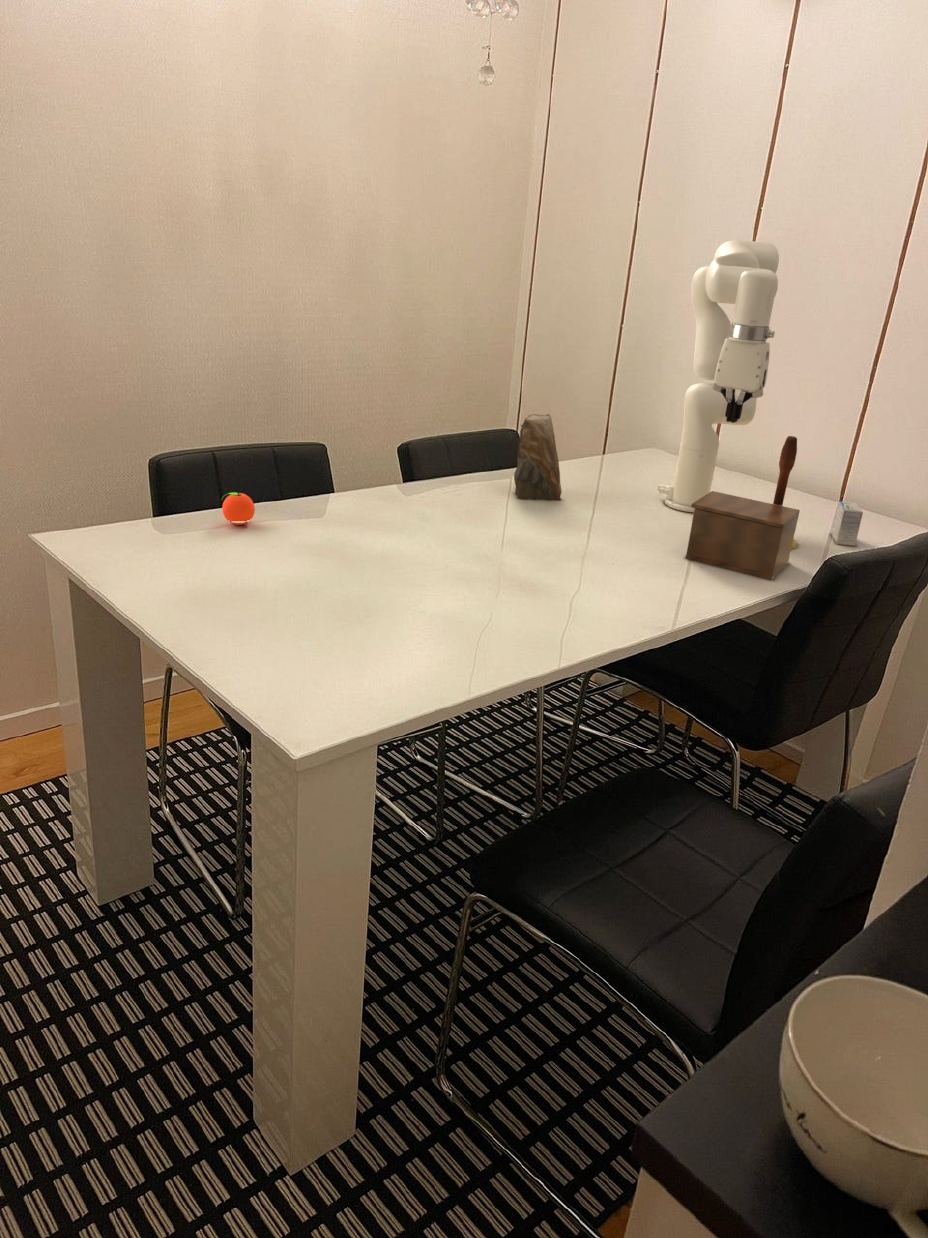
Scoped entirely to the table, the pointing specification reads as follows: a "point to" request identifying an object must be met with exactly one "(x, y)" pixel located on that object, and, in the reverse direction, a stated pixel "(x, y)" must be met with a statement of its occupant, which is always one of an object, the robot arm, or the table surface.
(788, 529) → the chest
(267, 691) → the table surface
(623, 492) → the table surface
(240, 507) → the clementine
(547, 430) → the brown rock
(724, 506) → the lid
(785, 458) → the handbell
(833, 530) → the medicine box
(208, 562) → the table surface
